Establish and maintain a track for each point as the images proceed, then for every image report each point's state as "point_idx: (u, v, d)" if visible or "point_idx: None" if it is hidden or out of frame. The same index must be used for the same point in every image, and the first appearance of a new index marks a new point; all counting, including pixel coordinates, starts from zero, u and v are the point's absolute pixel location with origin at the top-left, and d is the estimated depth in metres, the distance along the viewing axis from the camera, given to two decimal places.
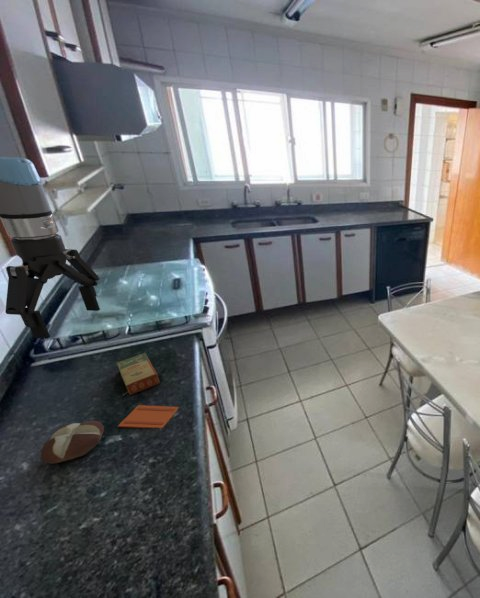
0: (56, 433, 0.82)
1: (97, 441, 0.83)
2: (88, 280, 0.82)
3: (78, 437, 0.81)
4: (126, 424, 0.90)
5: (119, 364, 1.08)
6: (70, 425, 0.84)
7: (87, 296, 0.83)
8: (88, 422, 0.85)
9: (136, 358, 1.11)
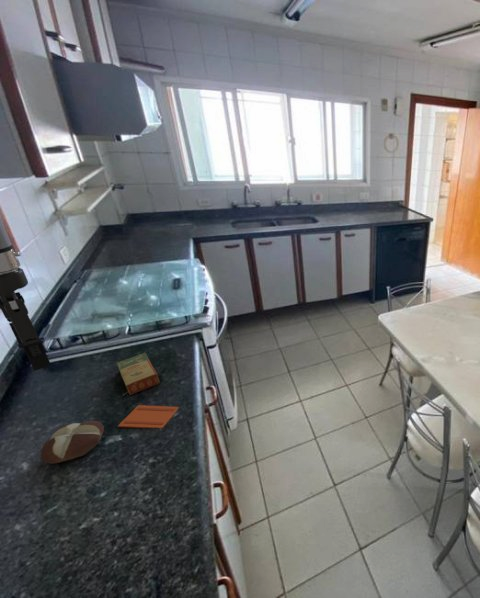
0: (56, 433, 0.82)
1: (97, 441, 0.83)
2: None
3: (78, 437, 0.81)
4: (126, 424, 0.90)
5: (119, 364, 1.08)
6: (70, 425, 0.84)
7: None
8: (88, 422, 0.85)
9: (136, 358, 1.11)
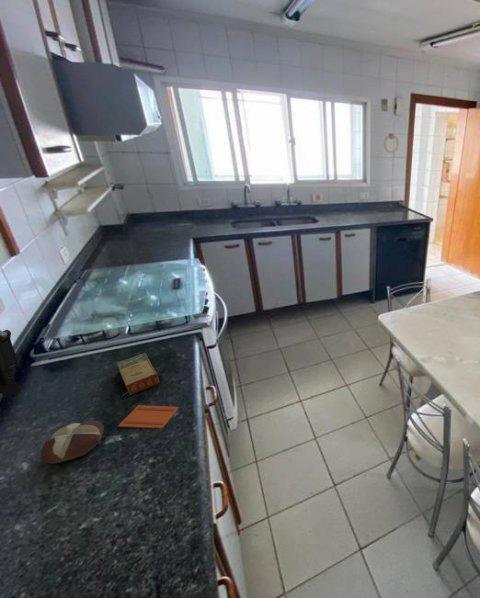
0: (56, 433, 0.82)
1: (97, 441, 0.83)
2: None
3: (78, 437, 0.81)
4: (126, 424, 0.90)
5: (119, 364, 1.08)
6: (70, 425, 0.84)
7: None
8: (88, 422, 0.85)
9: (136, 358, 1.11)
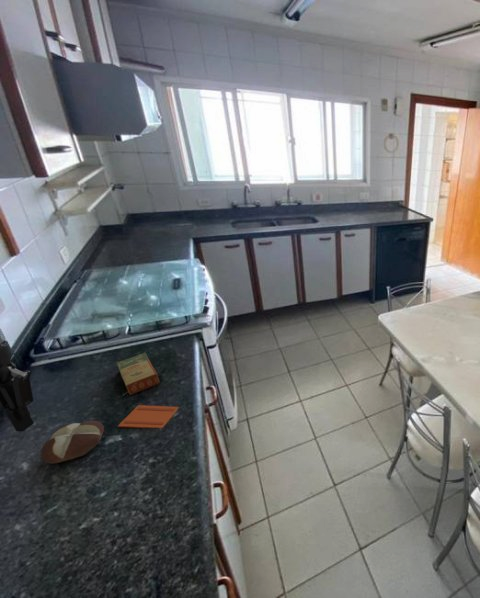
0: (56, 433, 0.82)
1: (97, 441, 0.83)
2: None
3: (78, 437, 0.81)
4: (126, 424, 0.90)
5: (119, 364, 1.08)
6: (70, 425, 0.84)
7: None
8: (88, 422, 0.85)
9: (136, 358, 1.11)
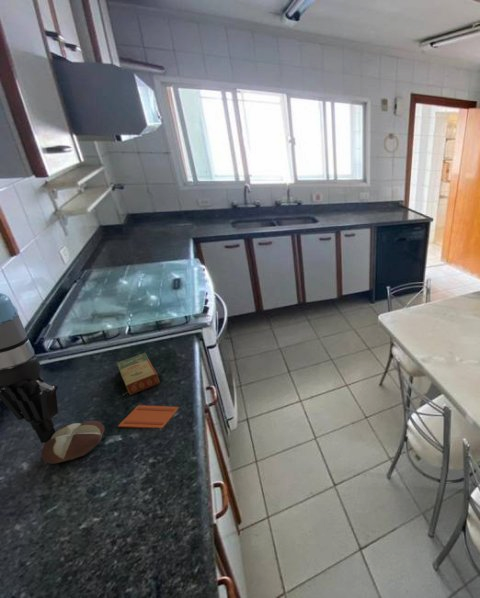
0: (57, 433, 0.82)
1: (98, 441, 0.83)
2: None
3: (78, 437, 0.81)
4: (126, 424, 0.90)
5: (119, 364, 1.08)
6: (71, 425, 0.84)
7: None
8: (89, 422, 0.85)
9: (136, 358, 1.11)
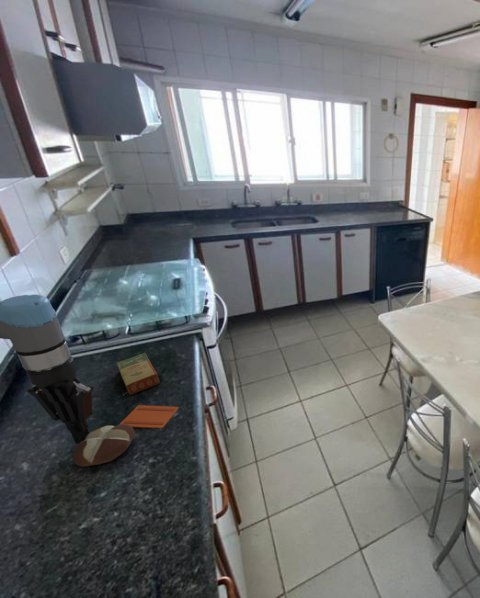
0: (90, 435, 0.82)
1: (125, 447, 0.82)
2: None
3: (107, 442, 0.80)
4: (126, 424, 0.90)
5: (119, 364, 1.08)
6: (104, 427, 0.84)
7: None
8: (120, 426, 0.85)
9: (136, 358, 1.11)
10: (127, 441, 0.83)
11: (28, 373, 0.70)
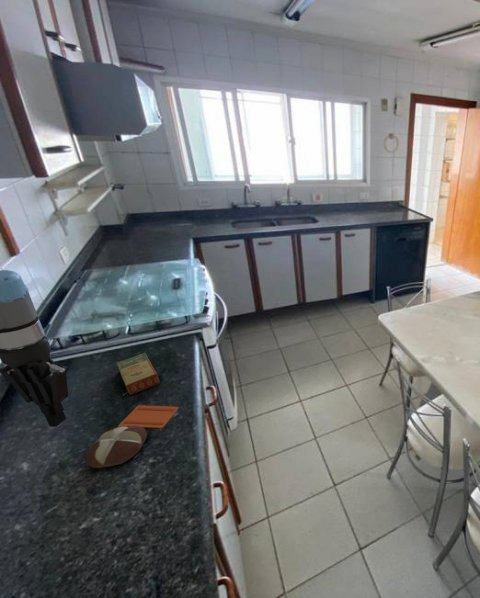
0: (103, 435, 0.82)
1: (136, 450, 0.81)
2: None
3: (119, 445, 0.80)
4: (126, 424, 0.90)
5: (119, 364, 1.08)
6: (117, 429, 0.84)
7: None
8: (133, 428, 0.84)
9: (136, 358, 1.11)
10: (138, 444, 0.82)
11: None
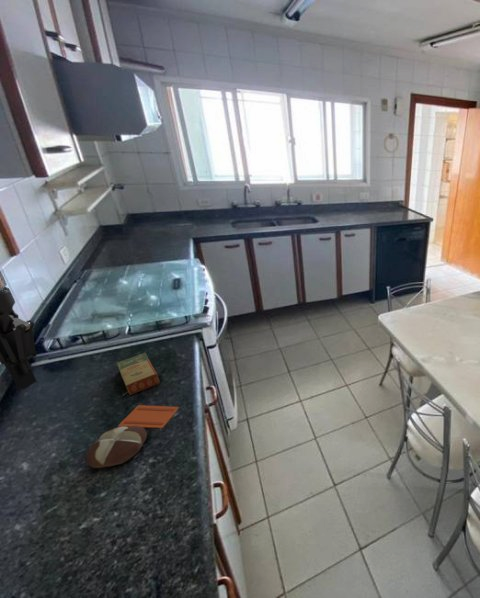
0: (103, 435, 0.82)
1: (136, 450, 0.81)
2: None
3: (119, 445, 0.80)
4: (126, 424, 0.90)
5: (119, 364, 1.08)
6: (117, 429, 0.84)
7: None
8: (133, 428, 0.84)
9: (136, 358, 1.11)
10: (138, 444, 0.82)
11: None
